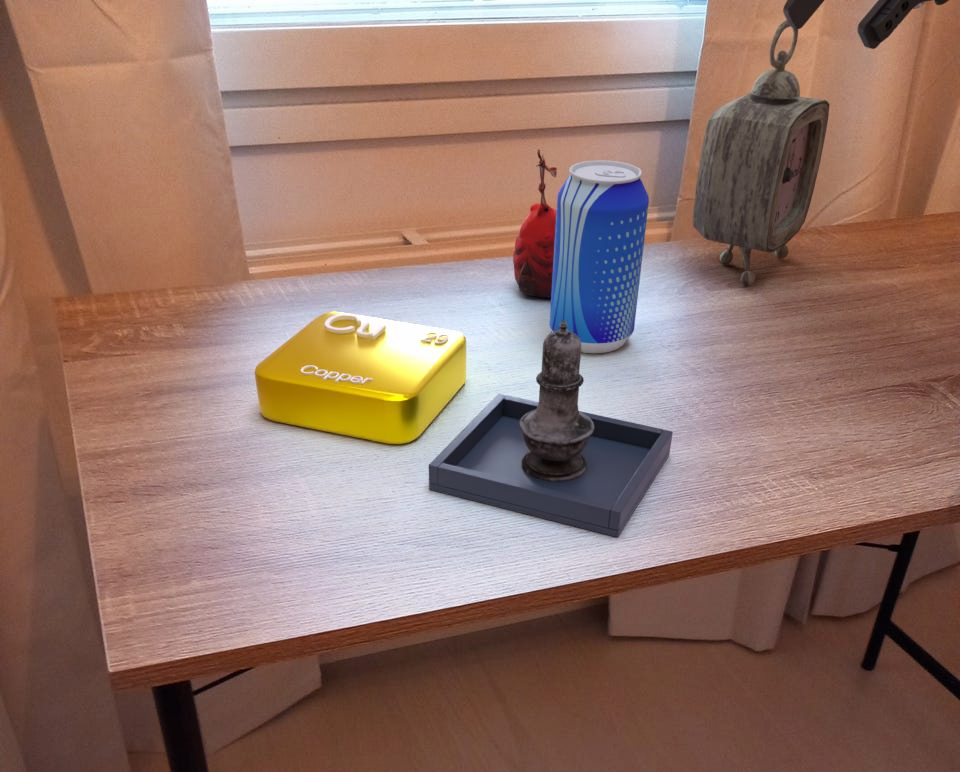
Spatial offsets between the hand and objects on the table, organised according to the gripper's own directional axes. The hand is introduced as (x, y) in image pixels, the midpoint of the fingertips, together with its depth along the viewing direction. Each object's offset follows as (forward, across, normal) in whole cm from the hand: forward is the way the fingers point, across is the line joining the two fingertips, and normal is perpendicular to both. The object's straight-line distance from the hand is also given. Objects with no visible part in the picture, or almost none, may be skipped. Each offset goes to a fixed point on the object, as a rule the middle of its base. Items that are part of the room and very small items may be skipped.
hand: (825, 29), depth 78 cm
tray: (+38, +7, +2) cm, 39 cm away
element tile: (+45, -12, -4) cm, 46 cm away
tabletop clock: (+8, -25, +32) cm, 42 cm away
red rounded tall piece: (+26, -28, +15) cm, 41 cm away
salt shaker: (+38, +7, +2) cm, 39 cm away
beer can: (+27, -14, +14) cm, 34 cm away
